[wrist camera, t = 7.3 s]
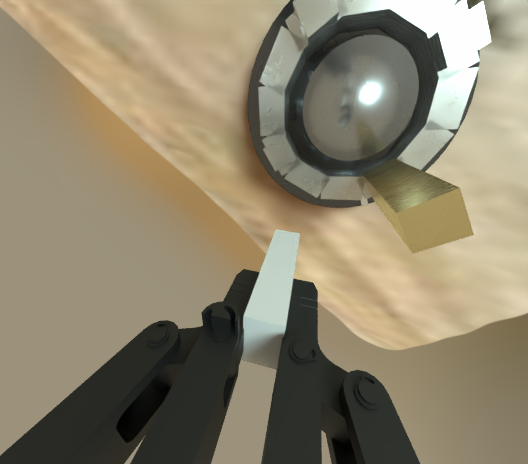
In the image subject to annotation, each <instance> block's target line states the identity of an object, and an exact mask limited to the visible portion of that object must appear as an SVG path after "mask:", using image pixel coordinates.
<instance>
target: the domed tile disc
mask: <svg viewBox="0 0 528 464" xmlns="http://www.w3.org/2000/svg"><path fill="white" fill-rule="evenodd" d="M456 1H457V0H294V1H293V2H292V3H293V7H294V13H293V14H292V15H290V16H289V17H288V18H287V19H286V20H285V22H286V25H287V28H288V30H287V29H286V28H284V27H283V26H281V28H280V31H279V33H278V36H277V38H276V41H275V43H274V46H273V48H272V51H271V53H270V56H269V58H268V61H267V63H266V66H265V68H264V71H263V73H262V76H261V78H260V81H259V82H261V83H262V84H263V85H265V86H264V87H258V90H259V113H260V136H267V137H266V138H264V139H263V140H262V142H263V143H264V145H265V147H266V148H264V149H263V151H264V152H265V154H266V156H267V158H268V159H269V161H270V163H271V165H272V166H273V168H274V170H275V171H277V170H279V172H280V173H281V175H284V174H286V173H287V172H288V173H287V175H286V177H285V179H286V180H288V181H289V182H291V183H293V184H294V185H296V186H298V187H299V188H301V189H303V190H304V191H306V192H308V193H310V194H311V195H313V196H315V197H316V198H317V197H318V196H319V194H320V193H321V199H335V200H362V195H363V196H364V197H365V199H368V198H370V197H372V198H373V200H374V201H375V202H376V204H377V205H378V207H379V208H380V209H381V211H382V212H383V213H384V215H385V216H386V218H387V219H388V220H389V222H390V223H391V224H392V226H393V227H394V229H395V230H396V231H397V233H398V234H399V235H400V237H401V238H402V240H403V241H404V242H405V244H406V245H407V246H408V248H409V249H410V251H411V252H412V253H416V252H419V251H423V250H426V249H429V248H432V247H436V246H439V245H442V244H445V243H449V242H452V241H455V240H459V239H462V238H465V237H468V236H472V235H474V234H473V231H472V228H471V224H470V221H469V217H468V214H467V211H466V207H465V204H464V201H463V197H462V194H461V190H460V188H459V187H457V186H455V185H452V184H450V183H448V182H446V181H443V180H441V179H439V178H437V177H435V176H432V175H430V174H428V173H426V172H424V171H421V169H422V168H423V167H424V166H425V165H426V164H427V163H428V162H429V161H430V160H431V159H432V158H433V157H434V156H435V155H436V153H437V152H438V151H439V150H440V149H441V148H442V147H443V146H444V145H445V144H446V143H447V142H448V141H449V140H450V139H451V137H452V136H453V135H454V134H453V133H451V132H450V131H448V130H447V129H458V127H459V124H460V121H461V118H462V115H463V112H464V109H465V106H466V103H467V101H468V98H469V95H470V92H471V89H472V86H473V83H474V80H475V77H476V74H477V71H478V68H479V67H476V68H468V67H469V66H471V65H473V64H475V63H476V62H478V61H479V57H478V52H477V50H478V49H480V48H482V47H483V46H485V45H487V44H488V43H490V42H491V38H490V33H489V28H488V23H487V18H486V13H485V8H484V3H483V1H482V2H481V3H479V4H478V5H476V6H475V7H473V8H472V9H470V10H469V11H468V7H467V2H466V0H462V1H460V2H459V3H458V4H456V5H455V6H453V5H454V4H455V2H456ZM452 6H453V7H452ZM370 29H379V30H380V31H382V32H383V33H385V34H387V35H388V36H390V37H391V38H393V39H394V40H396V41H398V42H399V43H401V44H402V45H404V46H405V47H407V48H408V50H409V53H410V55H411V56H412V58H413V60H414V62H415V65H416V68H417V72H418V79H419V91H418V98H417V102H416V105H415V109H414V111H413V114H412V118H411V122H410V125H409V126H408V127H407V129H406V130H405V131H404V132H403V133H402V135H401V136H400V137H399V138H398V140H397V141H396V142H395V143H394V145H393V146H392V147H391V148H390V150H389V151H388V152H387V153H386V154H385V155H383V156H381V157H379V158H378V159H376V160H374V161H372V162H370V163H368V164H366V165H364V166H362V167H360V168H358V169H356V170H326V169H324V168H322V167H321V166H319V165H317V164H316V163H314V162H312V161H311V160H309V159H307V158H306V157H304V156H302V154H301V152H300V150H299V148H298V146H297V144H296V142H295V140H294V138H293V136H292V134H291V133H290V131H289V95H290V93H291V91H292V88H293V86H294V84H295V82H296V80H297V78H298V76H299V74H300V72H301V70H302V68H303V66H304V63H305V61H306V60H307V59H308V58H309V57H310V56H312V55H313V54H314V53H315V52H317V51H318V50H319V49H320V48H322V47H323V46H324V45H325V44H327V43H328V42H329V41H330V40H331V39H333V38H334V37H335V36H336V35H338V34H341V33H348V32H355V31H363V30H370Z"/></svg>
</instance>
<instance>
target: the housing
mask: <svg viewBox="0 0 528 464" xmlns="http://www.w3.org/2000/svg"><path fill="white" fill-rule="evenodd" d="M293 1H294V0H290V1H289V3H288V4H287V5H286V6H285V7H284V8H283V10H282V11H281V13H280V14H279V15H278V17H277V18H276V20H275V21H274V22H273V24H272V26H271V28H270V29H269V31H268V33H267V35H266V37H265V38H264V40H263V43H262V45H261V47H260V50H259V52H258V55H257V57H256V61H255V64H254V67H253V71H252V75H251V80H250V85H249V95H248V120H249V127H250V133H251V137H252V141H253V144H254V147H255V149H256V152H257V155H258V157H259V159H260V160H261V162H262V164H263V166H264V167H265V169H266V170H267V172H268V173H269V175H270V176H271V177H272V178H273V179H274V180H275V181H276V182H277V183H278V184H279V185H280V186H281V187H282V188H283V189H285V190H286V191H287V192H289V193H290V194H292V195H293V196H295V197H297V198H299V199H301V200H303V201H306V202H309V203H312V204H315V205H320V206H324V207H335V208H341V207H354V206H364V205H368V203H372V202H375V201H374V200H373V198H372V197H370V198H368V199H365V197H364V196H363V195H362V200H335V199H321V193H320V194H319V196H318V197H317V198H316V197H315V196H313V195H311V194H310V193H308V192H306V191H304V190H303V189H301V188H299V187H298V186H296V185H294V184H293V183H291V182H289V181H288V180H286V179H285V177H286V175H287V173H288V172H287V173H286V174H284V175H281V173H280V172H279V170H277V171H275V170H274V168H273V166H272V165H271V163H270V161H269V159H268V158H267V156H266V154H265V152H264V151H263V149H264V148H266V147H265V145H264V143H263V142H262V140H263V139H264V138H266V137H267V136H260V113H259V90H258V87H264V86H265V85H263V84H262V83H261V82H259V81H260V78H261V76H262V73H263V71H264V68H265V66H266V63H267V61H268V58H269V56H270V53H271V51H272V48H273V46H274V43H275V41H276V38H277V36H278V33H279V31H280V28H281V26H283V27H284V28H286V29H287V30H288V28H287V25H286V22H285V20H286V19H287V18H288V17H289V16H290V15H292V14H293V13H294V7H293V3H292V2H293ZM460 1H462V0H457V1H456V2H455V4H454V5H453V6H455V5H456V4H458V3H459V2H460ZM466 2H467V7H468V11H469V10H470V9H471V6H470V4H469V2H468V1H467V0H466ZM453 6H452V7H453ZM477 52H478V57H479V49H478V50H477ZM476 67H479V61H478V62H476V63H475V64H473V65H471V66H469V67H468V68H476ZM478 69H479V68H478ZM477 76H478V71H477V74H476V77H475V80H474V83H473V86H472V89H471V92H470V95H469V98H468V101H467V103H466V106H465V109H464V112H463V115H462V118H461V121H460V124H459V127H458V129H459V128H460V126H461V124H462V122H463V120H464V118H465V116H466V113H467V111H468V108H469V106H470V104H471V101H472V98H473V94H474V90H475V87H476V83H477ZM418 91H419V79H418V72H417V68H416V65H415V62H414V60H413V58H412V56H411V55H410V53H409V50H408V48H407V47H405V46H404V45H402V44H401V43H399V42H398V41H396V40H394V39H393V38H391V37H390V36H388V35H387V34H385V33H383V32H382V31H380V30H379V29H370V30H363V31H355V32H348V33H341V34H338V35H336V36H335V37H334V38H333V39H331V40H330V41H329V42H328V43H327V44H325V45H324V46H323V47H322V48H320V49H319V50H318V51H317V52H315V53H314V54H313V55H312V56H310V57H309V58H308V59H307V60H306V61H305V63H304V66H303V68H302V70H301V72H300V74H299V76H298V78H297V80H296V82H295V84H294V86H293V88H292V91H291V93H290V95H289V131H290V133H291V134H292V136H293V138H294V140H295V142H296V144H297V146H298V148H299V150H300V152H301V154H302V156H304V157H306V158H307V159H309V160H311V161H312V162H314V163H316V164H317V165H319V166H321V167H322V168H324V169H326V170H356V169H358V168H360V167H362V166H364V165H366V164H368V163H370V162H372V161H374V160H376V159H378V158H379V157H381V156H383V155H385V154H386V153H387V152H388V151H389V150H390V148H391V147H392V146H393V145H394V143H395V142H396V141H397V140H398V138H399V137H400V136H401V135H402V133H403V132H404V131H405V130H406V129H407V127H408V126H409V125H410V122H411V118H412V114H413V111H414V109H415V105H416V102H417V98H418ZM458 129H447V130H448V131H450V132H451V133H453V134H454V135H453V136H452V137H451V139H450V140H449V141H448V142H447V143H446V144H445V145H444V146H443V147H442V148H441V149H440V150H439V151H438V152H437V153H436V155H435V156H434V157H433V158H432V159H431V160H430V161H429V162H428V163H427V164H426V165H425V166H424V167H423V168H422V169H421V171H424V172H425V171H426V170H427V169H428V168H429V167H430V166H431V165H432V164H433V163H434V162H435V161H436V160H437V159H438V158H439V157H440V155H441V154H442V153H443V152H444V151H445V149H446V148H447V147H448V145H449V144H450V142H451V141H452V139H453V138H454V136H455V135H456V133H457V131H458Z"/></svg>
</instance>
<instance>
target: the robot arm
mask: <svg viewBox="0 0 528 464" xmlns="http://www.w3.org/2000/svg"><path fill="white" fill-rule="evenodd" d="M299 238H300V233H295V232H289V231H283V230H277V229H276V230H275V233H274V236H273V238H272V241H271V244H270V246H269V249H268V252H267V254H266V257H265V260H264V263H263V265H262V268H261V271H260V272H255V271H250V270H246V269H244V270H242V271H241V272H240V273H238V274H237V275H236V277H235V279H234V281H233V284H232V285H231V287H230V290H229V291H228V293H227V295H226V297H225V299H224V301H223V302H217V303H213V304H211V305H209V306H208V307H206V308H205V310H204V311H203V312H202V320H203V326H201V327H196V328H186V329H178V326H177V325H176V324H175V323H174V322H171V321H167V320H166V321H158V322H156V323H153V324H152V325H150V326H148V327H147V328H145V329H144V330H143V331H142V332H141V333H139V334H138V335H137V336H136V337H135V338H134V339H133V340H132V341H130V342H129V343H128V344H127V345H126V346H125V347H124V348H122V349H121V350H120V351H119V352H118V353H117V354H116V355H115V356H113V357H112V358H111V359H110V360H109V361H108V362H107V363H105V364H104V365H103V366H102V367H101V368H100V369H98V371H96V372H95V373H94V374H93V375H92V376H91V377H90V378H88V379H87V380H86V381H85V382H84V383H83V384H81V386H79V387H78V388H77V389H76V390H75V391H73V392H72V393H71V394H70V395H69V396H68V397H67V398H65V399H64V400H63V401H62V402H61V403H60V404H59V405H57V407H55V408H54V409H53V410H52V411H51V412H49V413H48V414H47V415H46V416H45V417H44V418H43V419H42V420H40V421H39V422H38V423H37V424H36V425H35V426H34V427H32V428H31V429H30V430H29V431H28V432H27V433H26V434H24V435H23V436H22V437H21V438H20V439H19V440H18V441H16V442H15V443H14V444H13V445H12V446H11V447H10V448H8V449H7V450H6V451H5V452H4V453H3V454H2V455H1V456H0V464H124V463H125V462H126V460H127V459H128V458H129V456H130V455H131V454H132V452H133V451H134V450H135V448H136V447H137V446H138V444H139V443H140V442H141V440H142V439H143V438H144V439H143V441H142V443H141V445H140V447H139V449H138V451H137V452H136V454H135V456H134V458H133V460H132V462H131V463H130V464H211V461H212V458H213V455H214V452H215V448H216V445H217V441H218V439H219V435H220V432H221V429H222V425H223V422H224V419H225V416H226V412H227V409H228V406H229V403H230V399H231V396H232V393H233V389H234V386H235V383H236V380H237V377H238V369H239V364H240V360H241V357H242V360H244V361H248V362H251V363H255V364H258V365H262V366H266V367H269V368H273V369H276V370H277V372H276V379H275V384H274V390H273V394H272V401H271V408H270V414H269V420H268V426H267V432H266V438H265V444H264V450H263V456H262V462H261V464H322V462H321V461H322V455H321V454H322V452H321V430H322V431H324V432H325V433H326V437H327V443H328V447H329V452H330V457H331V462H332V464H420V462H419V460H418V458H417V456H416V454H415V451H414V449H413V447H412V445H411V442H410V440H409V438H408V436H407V434H406V432H405V429H404V427H403V425H402V423H401V420H400V418H399V416H398V414H397V412H396V409H395V407H394V405H393V403H392V401H391V398H390V396H389V394H388V393H387V391H386V389H385V388H384V386H383V385H382V384H381V383H380V382H379V381H378V380H377V379H376V378H375V377H374V376H372V375H371V374H369V373H367V372H364V371H360V370H355V371H351V372H349V373H348V372H346V371H345V370H343V369H341V368H340V367H338V366H336V365H335V364H333V363H332V362H331V361H329V360H328V359H327V358H326V357H325V356H324V354H323V353H322V351H321V350H320V347H319V345H318V339H317V324H318V320H317V317H318V315H317V312H318V311H317V307H318V306H317V305H318V302H317V300H318V291H317V289H316V287H315V285H314V283H312V282H307V281H302V280H297V279H293V277H294V271H295V264H296V257H297V251H298V244H299ZM144 436H145V437H144Z"/></svg>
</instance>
